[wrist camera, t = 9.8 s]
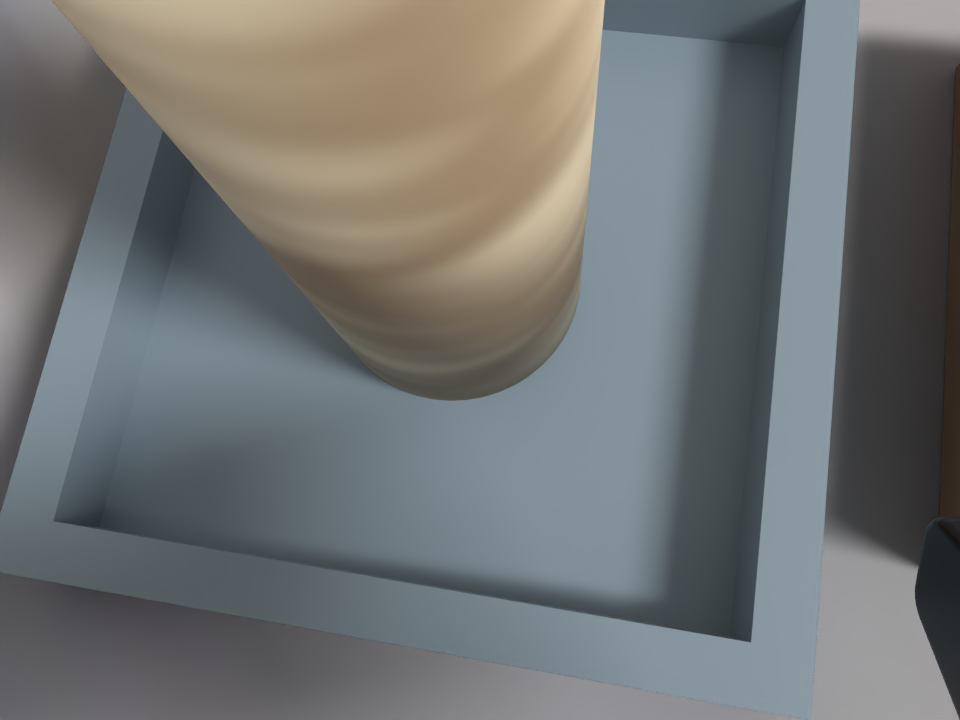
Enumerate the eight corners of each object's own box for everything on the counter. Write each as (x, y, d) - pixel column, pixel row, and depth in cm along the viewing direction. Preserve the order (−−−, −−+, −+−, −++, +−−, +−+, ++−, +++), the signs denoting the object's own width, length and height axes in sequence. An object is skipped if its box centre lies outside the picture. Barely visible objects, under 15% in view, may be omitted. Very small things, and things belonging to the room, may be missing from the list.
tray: (53, 571, 17) (-17, 569, 15) (219, -28, 20) (181, -100, 18) (775, 701, 15) (811, 720, 13) (827, 28, 19) (863, -43, 17)
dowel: (379, 438, 17) (-370, -190, 3) (302, 217, 18) (-456, -892, 4) (620, 345, 17) (896, -659, 3) (526, 132, 18) (442, -1214, 5)
